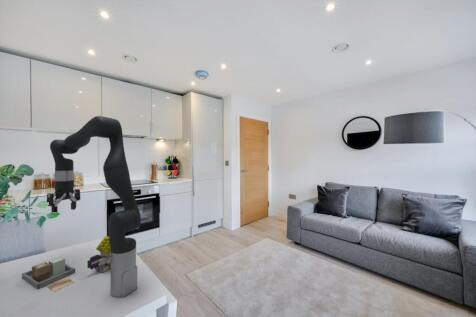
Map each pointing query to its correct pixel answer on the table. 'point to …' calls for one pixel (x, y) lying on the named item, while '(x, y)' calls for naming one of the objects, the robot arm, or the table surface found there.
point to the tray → (28, 277)
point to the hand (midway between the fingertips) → (64, 211)
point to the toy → (101, 257)
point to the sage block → (57, 266)
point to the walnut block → (41, 272)
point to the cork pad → (60, 284)
